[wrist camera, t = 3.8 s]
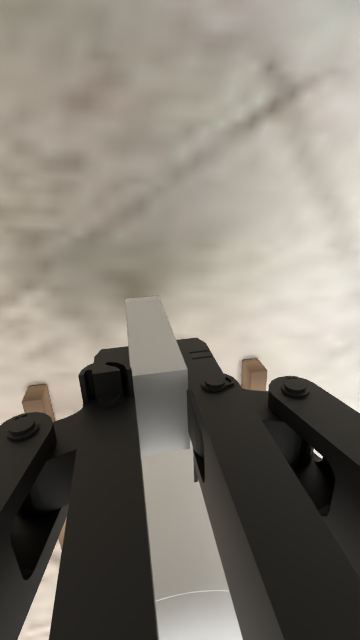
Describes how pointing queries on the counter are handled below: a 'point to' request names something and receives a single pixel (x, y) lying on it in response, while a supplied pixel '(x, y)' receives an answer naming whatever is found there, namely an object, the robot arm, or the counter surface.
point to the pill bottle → (185, 554)
